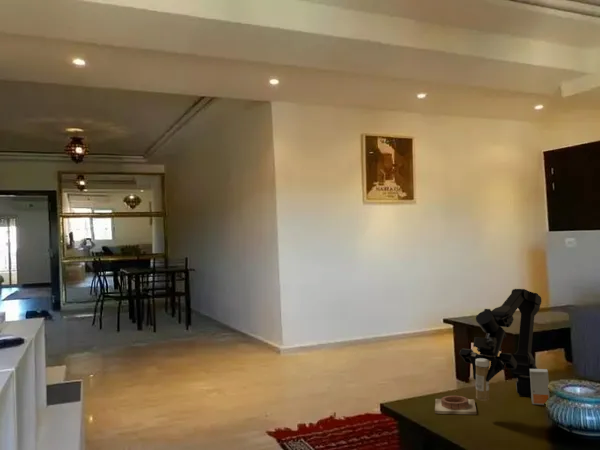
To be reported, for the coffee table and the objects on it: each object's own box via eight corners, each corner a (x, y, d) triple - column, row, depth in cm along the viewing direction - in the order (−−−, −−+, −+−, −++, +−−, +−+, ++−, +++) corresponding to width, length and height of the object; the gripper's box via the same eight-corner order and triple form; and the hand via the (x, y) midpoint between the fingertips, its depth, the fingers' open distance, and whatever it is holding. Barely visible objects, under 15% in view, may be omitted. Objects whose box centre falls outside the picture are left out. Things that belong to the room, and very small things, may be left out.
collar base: (474, 402, 196) (473, 394, 196) (476, 414, 182) (475, 405, 182) (435, 401, 199) (435, 393, 199) (435, 413, 186) (434, 405, 186)
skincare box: (532, 404, 189) (529, 371, 189) (531, 401, 193) (529, 368, 193) (550, 405, 186) (548, 371, 187) (550, 402, 190) (547, 368, 191)
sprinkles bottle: (492, 400, 177) (492, 360, 177) (480, 401, 176) (480, 361, 176) (484, 396, 181) (484, 357, 181) (472, 397, 180) (472, 358, 180)
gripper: (459, 325, 188) (445, 363, 180) (510, 329, 175) (498, 370, 167) (472, 343, 194) (459, 380, 186) (522, 348, 180) (511, 389, 172)
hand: (480, 379), depth 177 cm, fingers closed on sprinkles bottle, 4 cm apart
